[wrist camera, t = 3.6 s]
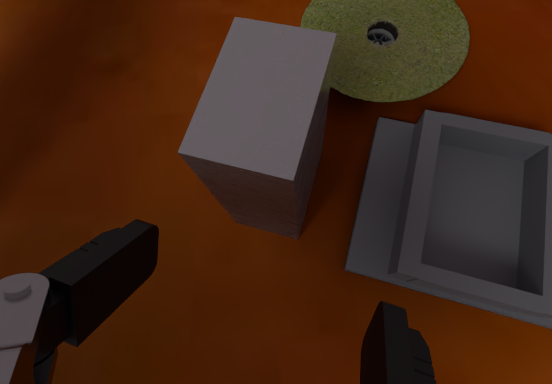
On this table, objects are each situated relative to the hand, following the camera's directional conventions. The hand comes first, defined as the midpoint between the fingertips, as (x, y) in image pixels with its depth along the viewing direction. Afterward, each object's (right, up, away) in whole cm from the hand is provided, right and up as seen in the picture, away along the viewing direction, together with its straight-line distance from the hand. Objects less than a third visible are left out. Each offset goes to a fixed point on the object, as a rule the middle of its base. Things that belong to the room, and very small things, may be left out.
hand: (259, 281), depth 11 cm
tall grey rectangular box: (+1, +3, +10) cm, 10 cm away
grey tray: (+12, +2, +8) cm, 14 cm away
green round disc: (+8, +13, +13) cm, 20 cm away
